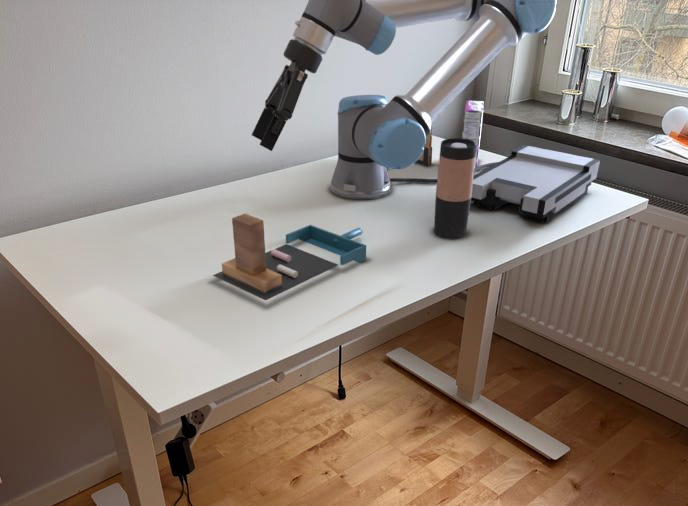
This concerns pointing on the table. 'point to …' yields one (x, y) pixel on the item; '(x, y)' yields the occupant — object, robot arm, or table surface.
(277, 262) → the chalkboard
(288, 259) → the chalk
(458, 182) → the travel mug
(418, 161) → the ammunition clip
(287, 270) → the chalk
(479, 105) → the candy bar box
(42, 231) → the table surface
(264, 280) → the wooden block on base
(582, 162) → the game console
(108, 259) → the table surface
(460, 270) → the table surface
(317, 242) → the dustpan
